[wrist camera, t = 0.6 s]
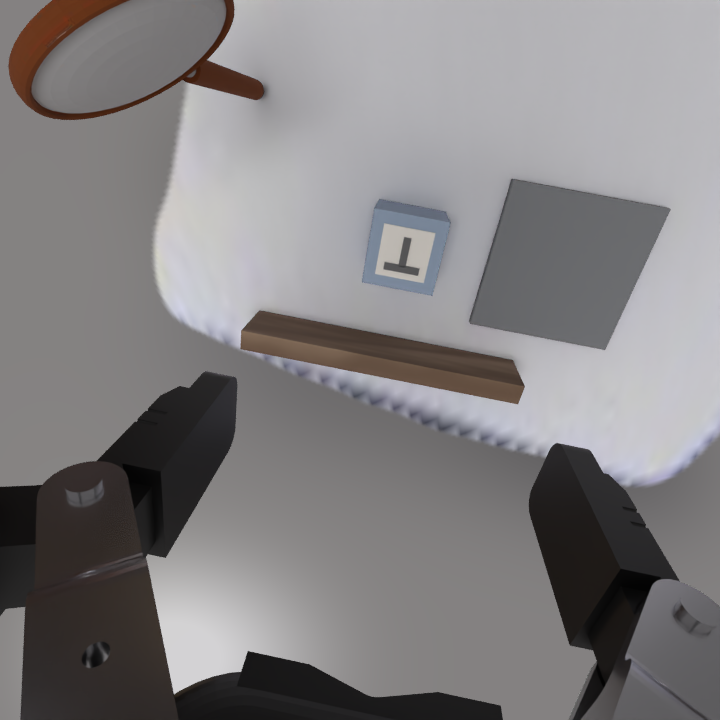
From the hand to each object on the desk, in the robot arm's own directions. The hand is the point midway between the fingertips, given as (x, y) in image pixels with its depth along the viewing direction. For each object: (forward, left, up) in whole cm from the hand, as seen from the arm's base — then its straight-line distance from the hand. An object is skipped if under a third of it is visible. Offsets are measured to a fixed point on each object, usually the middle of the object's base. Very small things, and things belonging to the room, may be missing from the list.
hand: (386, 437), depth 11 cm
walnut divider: (+9, 0, -26) cm, 27 cm away
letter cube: (0, 0, -26) cm, 26 cm away
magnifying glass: (-8, -12, -26) cm, 30 cm away
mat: (0, +12, -26) cm, 28 cm away
